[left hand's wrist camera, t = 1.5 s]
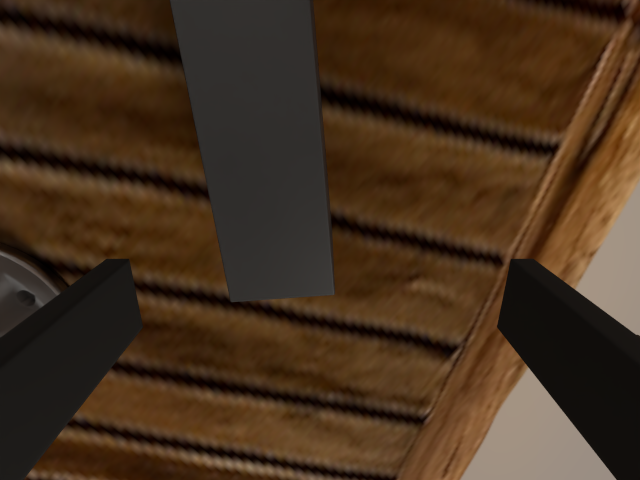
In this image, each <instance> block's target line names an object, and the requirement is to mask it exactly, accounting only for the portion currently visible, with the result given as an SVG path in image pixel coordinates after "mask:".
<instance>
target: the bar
mask: <svg viewBox="0 0 640 480" xmlns="http://www.w3.org/2000/svg"><path fill="white" fill-rule="evenodd" d="M170 4H171V9H172V13H173V18H174V23H175V28H176V33H177V38H178V43H179V48H180V53H181V58H182V63H183V68H184V73H185V78H186V83H187V88H188V93H189V98H190V103H191V108H192V113H193V118H194V123H195V128H196V132H197V137H198V142H199V147H200V152H201V157H202V162H203V167H204V172H205V177H206V182H207V187H208V192H209V197H210V202H211V207H212V212H213V217H214V222H215V227H216V232H217V237H218V242H219V247H220V252H221V256H222V261H223V266H224V271H225V276H226V281H227V286H228V291H229V296H230V301H231V302H239V301H253V300H267V299H281V298H295V297H309V296H323V295H334V294H335V284H334V263H333V242H332V226H331V213H330V201H329V189H328V177H327V165H326V153H325V141H324V128H323V116H322V104H321V92H320V80H319V68H318V56H317V43H316V31H315V19H314V7H313V0H170Z"/></svg>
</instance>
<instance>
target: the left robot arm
mask: <svg viewBox="0 0 640 480" xmlns="http://www.w3.org/2000/svg"><path fill="white" fill-rule="evenodd" d="M142 328H143V325H142V320H141V315H140V310H139V305H138V301H137V296H136V291H135V286H134V281H133V276H132V271H131V266H130V261H129V259H106V260H105V261H103V262H102V263H101V264H99V265H98V266H96V267H95V268H94V269H92V270H91V271H90V272H88V273H87V274H86V275H84V276H83V277H82V278H80V279H79V280H78V281H76V282H75V283H74V284H72V285H71V286H69V287H67V286H66V285H65V283H64V282H63V281H62V280H61V279H60V278H59V277H58V276H57V275H56V274H54V273H53V272H52V271H51V270H50V269H49V268H47V267H46V266H45V265H43V264H42V263H40V262H39V261H37V260H36V259H34V258H33V257H31V256H29V255H27V254H25V253H23V252H21V251H19V250H17V249H15V248H12V247H10V246H7V245H4V244H1V243H0V480H23V479H24V478H25V477H26V476H27V474H28V473H29V472H30V471H31V469H32V468H33V467H34V465H35V464H36V463H37V462H38V460H39V459H40V458H41V456H42V455H43V454H44V453H45V451H46V450H47V449H48V448H49V446H50V445H51V444H52V442H53V441H54V440H55V439H56V437H57V436H58V435H59V434H60V432H61V431H62V430H63V428H64V427H65V426H66V425H67V423H68V422H69V421H70V419H71V418H72V417H73V416H74V414H75V413H76V412H77V411H78V409H79V408H80V407H81V405H82V404H83V403H84V402H85V400H86V399H87V398H88V397H89V395H90V394H91V393H92V391H93V390H94V389H95V388H96V386H97V385H98V384H99V382H100V381H101V380H102V379H103V377H104V376H105V375H106V374H107V372H108V371H109V370H110V368H111V367H112V366H113V365H114V363H115V362H116V361H117V360H118V358H119V357H120V356H121V354H122V353H123V352H124V351H125V349H126V348H127V347H128V345H129V344H130V343H131V342H132V340H133V339H134V338H135V337H136V335H137V334H138V333H139V331H140V330H141V329H142ZM497 328H498V329H499V330H500V331H501V333H502V334H503V335H504V337H505V338H506V339H507V340H508V342H509V343H510V344H511V345H512V347H513V348H514V349H515V351H516V352H517V353H518V354H519V356H520V357H521V358H522V360H523V361H524V362H525V363H526V365H527V366H528V367H529V368H530V370H531V371H532V372H533V374H534V375H535V376H536V377H537V379H538V380H539V381H540V382H541V384H542V385H543V386H544V388H545V389H546V390H547V391H548V393H549V394H550V395H551V397H552V398H553V399H554V400H555V402H556V403H557V404H558V405H559V407H560V408H561V409H562V411H563V412H564V413H565V414H566V416H567V417H568V418H569V419H570V421H571V422H572V423H573V425H574V426H575V427H576V428H577V430H578V431H579V432H580V434H581V435H582V436H583V437H584V439H585V440H586V441H587V442H588V444H589V445H590V446H591V447H592V449H593V450H594V451H595V453H596V454H597V455H598V456H599V458H600V459H601V460H602V462H603V463H604V464H605V465H606V467H607V468H608V469H609V470H610V472H611V473H612V474H613V476H614V477H615V478H616V479H617V480H640V336H639V335H635V334H634V333H633V332H631V331H630V330H629V329H627V328H626V327H625V326H623V325H622V324H621V323H619V322H618V321H616V320H615V319H614V318H612V317H611V316H610V315H608V314H607V313H606V312H604V311H603V310H602V309H600V308H599V307H598V306H596V305H595V304H593V303H592V302H591V301H589V300H588V299H587V298H585V297H584V296H583V295H581V294H580V293H579V292H577V291H576V290H575V289H573V288H572V287H571V286H569V285H568V284H566V283H565V282H564V281H562V280H561V279H560V278H558V277H557V276H556V275H554V274H553V273H552V272H550V271H549V270H548V269H546V268H545V267H544V266H542V265H541V264H539V263H538V262H537V261H535V260H534V259H511V261H510V266H509V271H508V276H507V281H506V286H505V291H504V296H503V301H502V305H501V310H500V315H499V320H498V325H497Z"/></svg>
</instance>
